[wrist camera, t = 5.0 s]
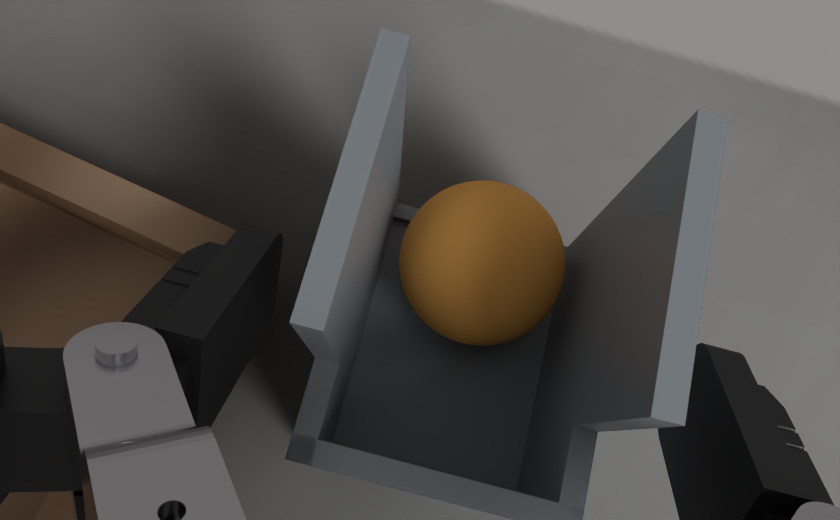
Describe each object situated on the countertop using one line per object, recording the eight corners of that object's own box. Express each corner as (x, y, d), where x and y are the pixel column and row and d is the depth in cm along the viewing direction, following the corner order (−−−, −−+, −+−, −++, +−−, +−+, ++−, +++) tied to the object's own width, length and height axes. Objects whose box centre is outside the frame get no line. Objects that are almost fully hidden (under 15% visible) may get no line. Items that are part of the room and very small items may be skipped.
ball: (541, 332, 19) (589, 195, 17) (527, 398, 15) (588, 231, 14) (405, 285, 19) (442, 150, 18) (360, 338, 16) (402, 172, 14)
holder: (524, 512, 18) (663, 575, 9) (310, 455, 18) (245, 464, 9) (574, 262, 20) (728, 116, 11) (380, 211, 20) (380, 28, 11)
